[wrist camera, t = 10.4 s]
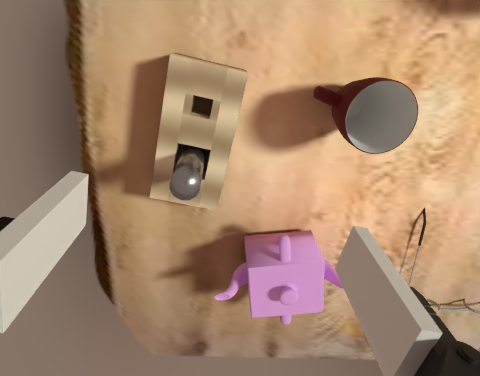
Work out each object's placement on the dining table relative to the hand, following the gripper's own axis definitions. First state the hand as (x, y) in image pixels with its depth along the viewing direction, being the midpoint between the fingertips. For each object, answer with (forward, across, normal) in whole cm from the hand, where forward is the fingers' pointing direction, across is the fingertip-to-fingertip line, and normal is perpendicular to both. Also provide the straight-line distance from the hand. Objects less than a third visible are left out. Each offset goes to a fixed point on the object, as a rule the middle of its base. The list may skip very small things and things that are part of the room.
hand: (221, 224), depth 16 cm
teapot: (+31, +13, -21) cm, 40 cm away
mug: (+31, +15, +4) cm, 35 cm away
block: (+31, -3, -4) cm, 31 cm away
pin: (+30, -3, -7) cm, 31 cm away
